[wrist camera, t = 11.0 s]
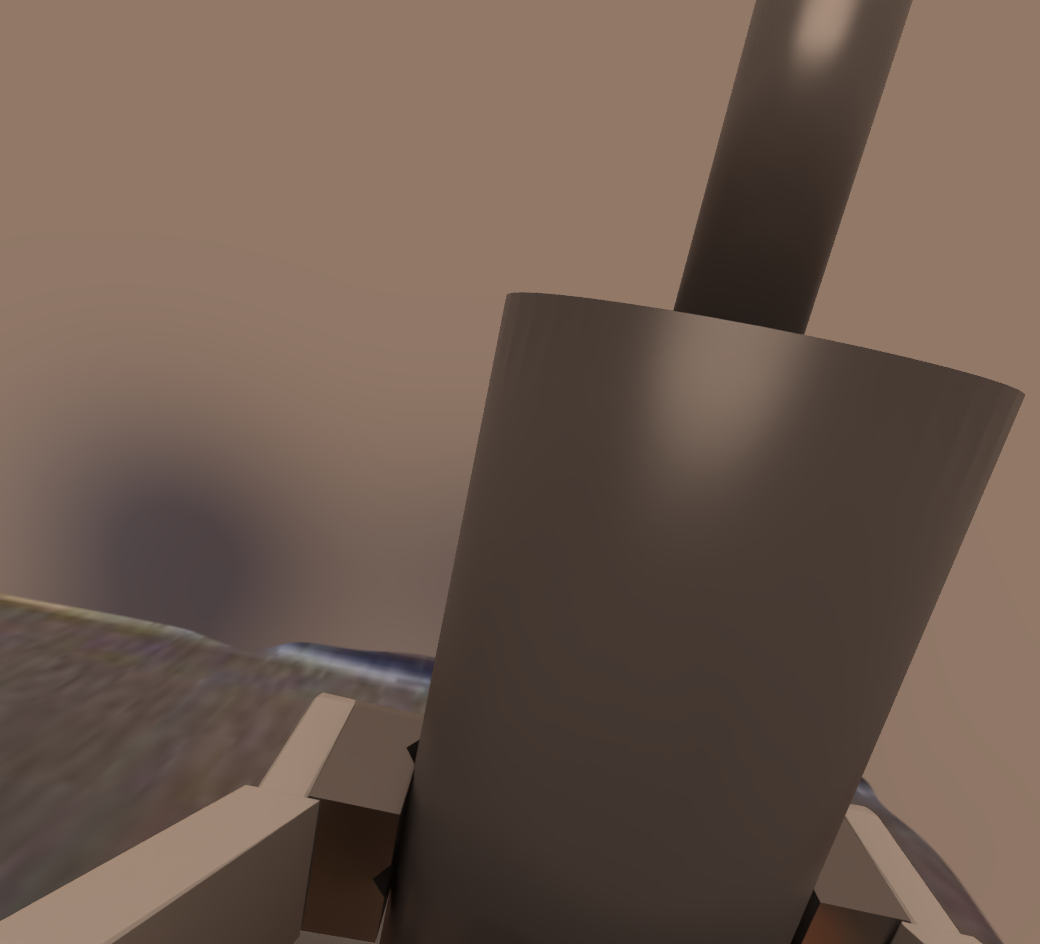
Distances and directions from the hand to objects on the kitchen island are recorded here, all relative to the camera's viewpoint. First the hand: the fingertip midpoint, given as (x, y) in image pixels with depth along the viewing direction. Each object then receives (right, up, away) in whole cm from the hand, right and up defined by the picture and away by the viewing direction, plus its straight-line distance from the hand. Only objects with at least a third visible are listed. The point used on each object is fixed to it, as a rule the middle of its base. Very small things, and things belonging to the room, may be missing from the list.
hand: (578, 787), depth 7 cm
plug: (-2, -8, +1) cm, 8 cm away
